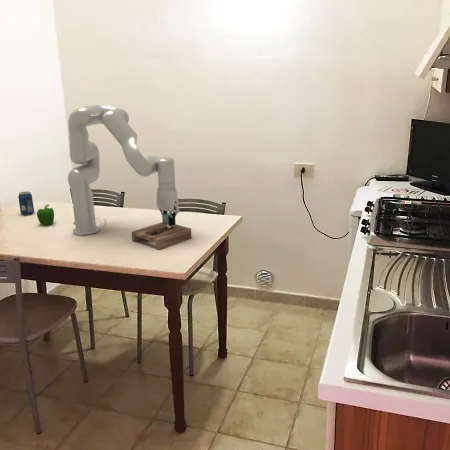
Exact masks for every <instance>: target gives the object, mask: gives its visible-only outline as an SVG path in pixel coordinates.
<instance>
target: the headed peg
mask: <svg viewBox="0 0 450 450" xmlns="http://www.w3.org/2000/svg"><path fill="white" fill-rule="evenodd" d="M161 217H163V220H162V222H163V223H166V224H167V229H171V228H172V227H171V226H170V223H169V218H170V214H169V212H168V211H167V213H165V214H162V215H161Z"/></svg>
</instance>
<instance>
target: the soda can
mask: <svg viewBox="0 0 450 450" xmlns="http://www.w3.org/2000/svg"><path fill="white" fill-rule="evenodd" d="M17 198H18V205H19V209H20V214H21V215H22V216H26V217H27V216H28V217H29V216H33V214H34V213H35V207H34V202H33V195H32V193H31V191H21V192H19V193H18V197H17Z"/></svg>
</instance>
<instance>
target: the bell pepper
mask: <svg viewBox="0 0 450 450" xmlns="http://www.w3.org/2000/svg"><path fill="white" fill-rule="evenodd" d="M36 216H37V220H38V222H39V224H40V225H41V226H50V225H53V223H54V221H55V211H54V208H52V207H50V204H49V203H48V204H45V205H44V208H43V209H42V208H39V209H38V210H37V212H36Z"/></svg>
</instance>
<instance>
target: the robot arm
mask: <svg viewBox="0 0 450 450" xmlns="http://www.w3.org/2000/svg"><path fill="white" fill-rule="evenodd" d="M67 121H68V123H67V125H68V134H69V136H68V139H69V140H68V142H69V158H70V161H71V162H72V163H73V164H76V165H78V166H76V167H73V168H72V169H71V170H70V171H69V173H68V175H67V182H68V185H69V188H70V191H71V194H70V195H71V200H72V208H73V214H74V215H73V216H74V222H73V225H74V226H75V228H73V230H72V233H73V234H74V235H76V236H89V235H90V236H91V235H93V234H94V235H95V234H97V233H98V232H99V231H100V230H101V229H100V226H98V225H97V222H96V213H95V204H94V195H93V191H92V188H91V186H90V185H91V184H93V183H95V182H96V181H98V179H99V177H100V151H99V148H98V145H97V144H96V143H95V142H94V141H91V140H89V131H88V128H87V127H90V126H95V125H98V124H101V125H104V127H105V128H106V129H107V130H108V131H109V133H110V134H111V135H112V136H113V137H114V139H115V140H116V141H117V142H118V143H119V145H120V147H122V148H121V149H122V152H123V155H124V157H125V159H126V161H127V162H128V164H129V165H130V167H131V168H132V169H133V170H134V171H135V172H136V173H137V174H138V175H139V176H141V177H148V176H151V175H153V174H155V173H157V183H158V188H157V190H156V208H157V209H158V210H159V212H160V215H161V217H162V214H165V213H168V212H169V214H170V218H169V223H170V226H173V225H175V224H176V217H177V215H178V214H179V213H180V209H179V199H178V192H177V189H176V173H175V160H174V158H172V157H169V156H168V157H167V156H165V157H160V156H154V155H150V156H147V157H145V156H144V155H143V154H142V153H141V151H140V150H139V147H138V144H137V142H138V141H137V140H138V135H137V132H135V131H134V129H133V128H132V127H131V125H130V124H129V121H130V116H129V113H128V112H127V111H126V110H124V109H123V108H119V107H114V106H107V105H102V104H101V105H100V104H94V105H87V106H82V107H79V108H76V109H75V110H73V111H72V112H71V113H70V115H69V116H68V120H67ZM161 220H162V221H163V217H162V219H161ZM163 224H166V223H163ZM176 225H177V224H176Z"/></svg>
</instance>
